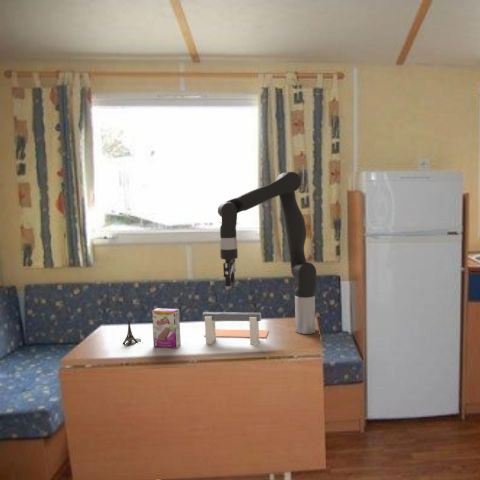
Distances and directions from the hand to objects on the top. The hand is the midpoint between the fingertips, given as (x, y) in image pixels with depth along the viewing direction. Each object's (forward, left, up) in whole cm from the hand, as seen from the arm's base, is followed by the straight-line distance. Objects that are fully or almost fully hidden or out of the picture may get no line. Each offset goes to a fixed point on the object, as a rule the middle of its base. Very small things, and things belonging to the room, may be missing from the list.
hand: (230, 284), depth 180 cm
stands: (0, 0, -26) cm, 26 cm away
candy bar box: (+28, +7, -26) cm, 39 cm away
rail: (0, 0, -16) cm, 16 cm away
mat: (0, -11, -26) cm, 28 cm away
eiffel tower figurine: (+46, +5, -27) cm, 53 cm away
